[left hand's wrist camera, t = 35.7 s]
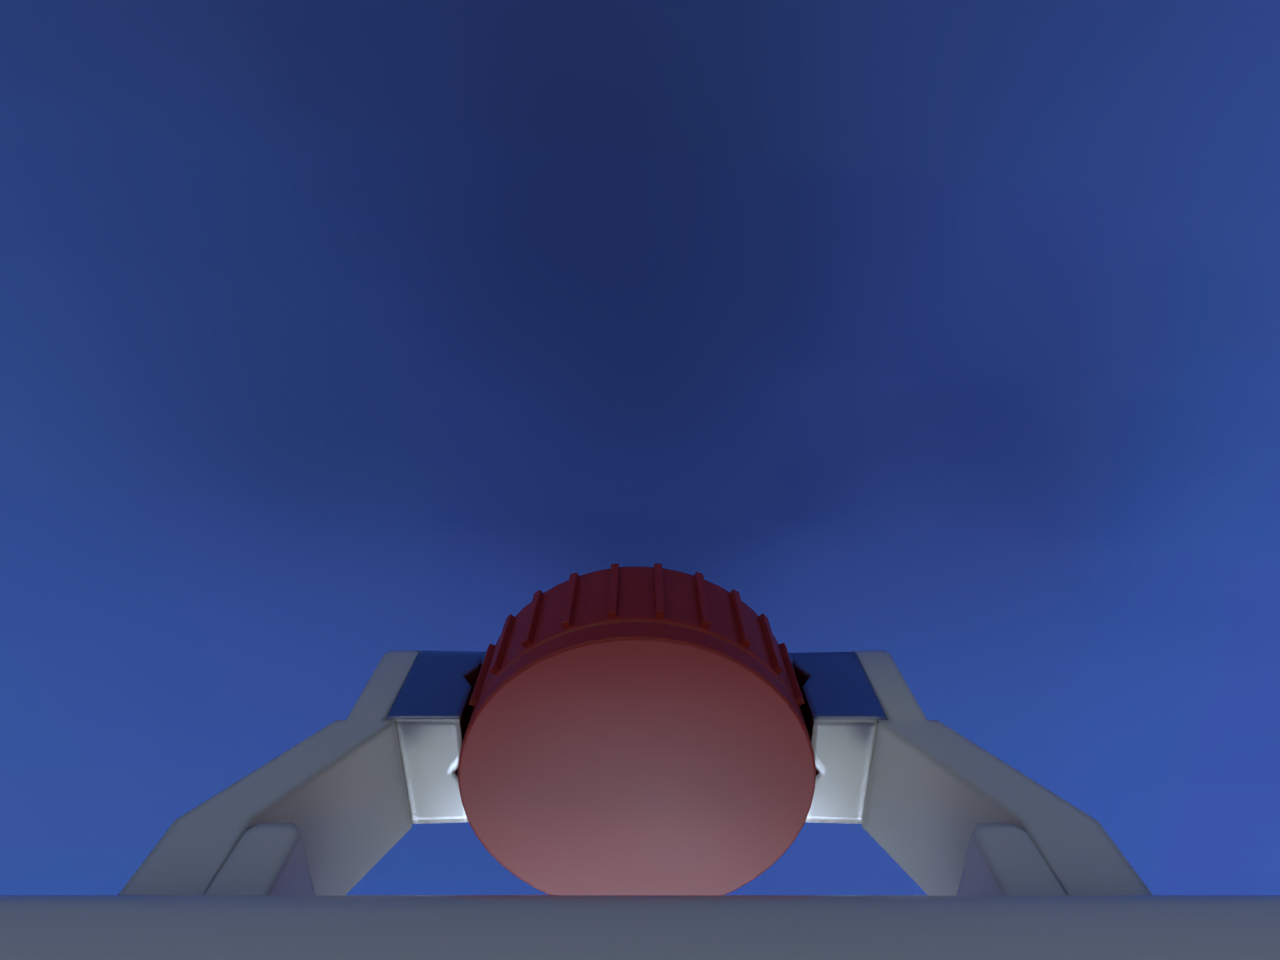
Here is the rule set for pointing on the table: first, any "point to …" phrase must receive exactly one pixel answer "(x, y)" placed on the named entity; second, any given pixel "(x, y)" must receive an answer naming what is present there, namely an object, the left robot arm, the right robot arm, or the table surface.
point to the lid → (636, 739)
